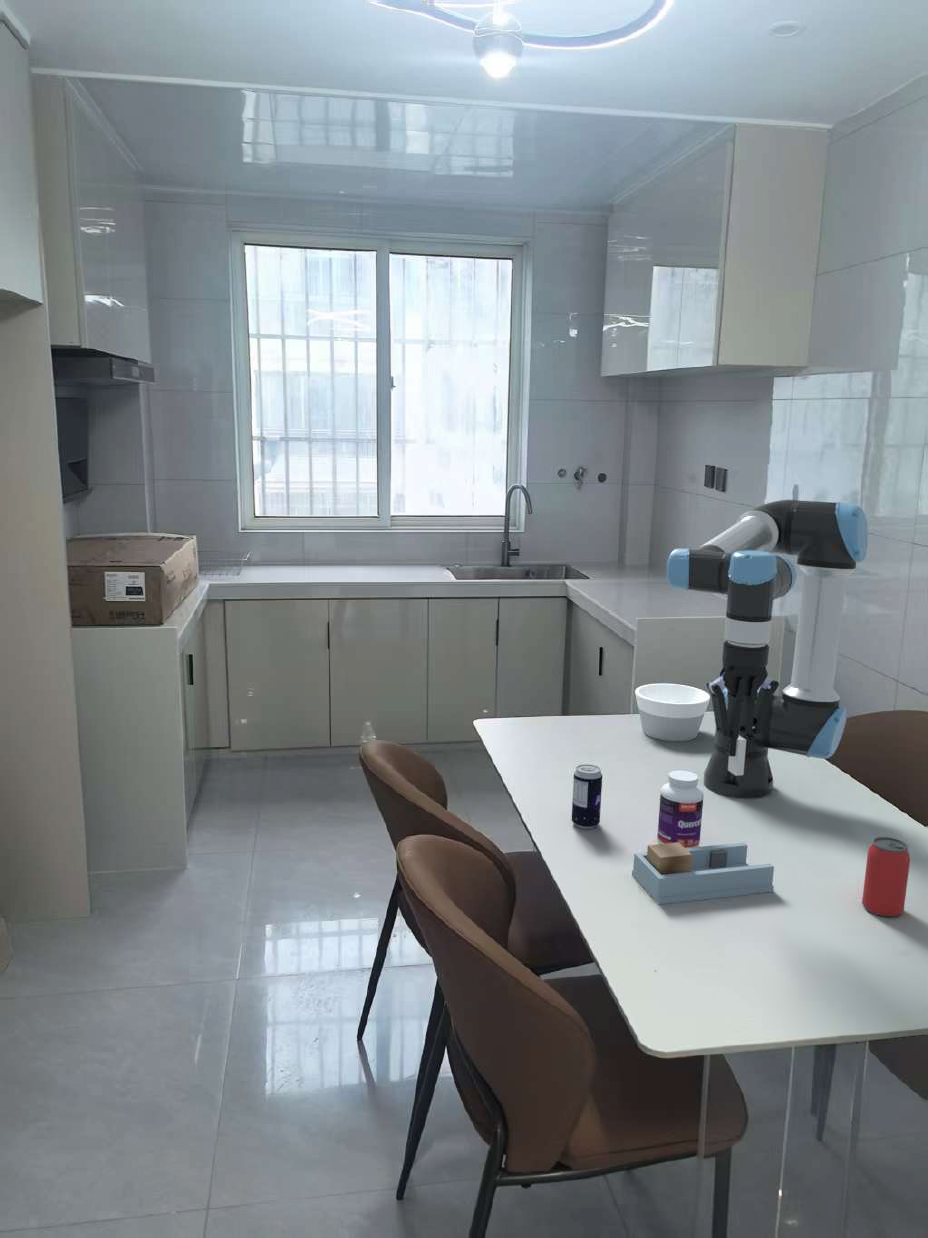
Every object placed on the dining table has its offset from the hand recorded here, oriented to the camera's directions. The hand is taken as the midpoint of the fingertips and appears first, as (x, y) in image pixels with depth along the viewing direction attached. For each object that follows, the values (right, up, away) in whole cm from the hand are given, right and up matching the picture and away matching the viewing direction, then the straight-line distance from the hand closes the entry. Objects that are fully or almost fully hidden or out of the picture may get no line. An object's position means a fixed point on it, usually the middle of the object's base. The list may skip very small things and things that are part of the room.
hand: (735, 772), depth 171 cm
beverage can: (-23, -15, +26) cm, 38 cm away
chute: (-5, -20, +2) cm, 21 cm away
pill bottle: (-6, -17, +17) cm, 25 cm away
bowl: (+7, -3, +85) cm, 86 cm away
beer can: (+24, -23, -5) cm, 33 cm away
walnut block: (-12, -19, 0) cm, 23 cm away
